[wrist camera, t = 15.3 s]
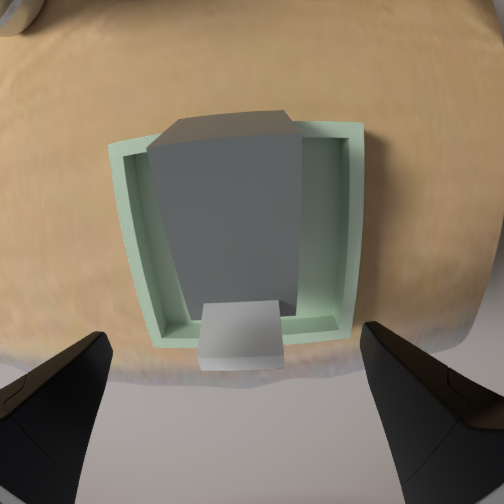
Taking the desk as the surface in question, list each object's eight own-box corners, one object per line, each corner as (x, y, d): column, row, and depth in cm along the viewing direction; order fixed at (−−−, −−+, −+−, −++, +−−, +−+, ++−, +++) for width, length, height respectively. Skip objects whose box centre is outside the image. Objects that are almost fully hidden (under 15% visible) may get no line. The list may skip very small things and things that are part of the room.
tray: (348, 124, 18) (363, 122, 15) (341, 316, 24) (350, 337, 22) (126, 142, 19) (107, 144, 16) (162, 326, 25) (153, 347, 22)
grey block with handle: (283, 110, 15) (324, 164, 7) (285, 252, 21) (303, 368, 13) (178, 119, 15) (109, 183, 7) (202, 257, 21) (183, 372, 13)
